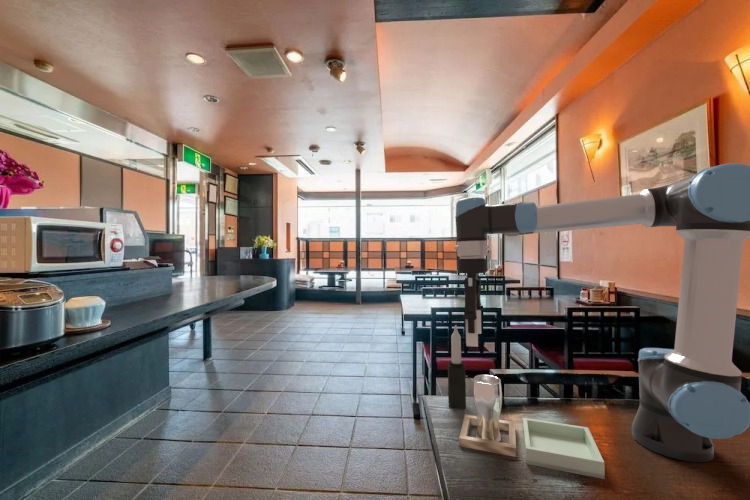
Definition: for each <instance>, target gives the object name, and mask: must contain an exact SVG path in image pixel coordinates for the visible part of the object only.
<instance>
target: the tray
mask: <svg viewBox="0 0 750 500" xmlns="http://www.w3.org/2000/svg"><path fill="white" fill-rule="evenodd" d="M522 435H523V444H524V455H525V464H526V465H530V466H536V467H540V468H545V469H550V470H551V469H552V470H555V471H560V472H566V473H571V474H577V475H581V476H586V477H591V478H592V477H593V478H595V479H596V478H597V479H601V480H602V479H603V480H605V479H606V478H605V477H606V476H605V474H606V473H605V467H606V466H605V461H604V459H603V457H602V454H601V452H600V450H599V448H598V446H597V444H596V441H595V439H594V437H593V435H592V432H591V431H590V429H589V427H587V426H581V425H573V424H568V423H560V422H554V421H548V420H541V419H533V418H527V417H522Z"/></svg>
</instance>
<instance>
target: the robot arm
mask: <svg viewBox="0 0 750 500" xmlns="http://www.w3.org/2000/svg"><path fill="white" fill-rule="evenodd" d="M630 225H631V226H632V225H642V226H644V227H645V228H655V227H656V228H657V227H658V228H659V227H675V233H676V234H677V235H679V236H680V238H682V239H683V241H684V243H683V252H682V253H683V254H682V264H681V274H680V275H681V276H680V284H679V285H680V286H679V296H678V307H677V318H676V328H675V337H674V338H675V339H674V348H662V347H661V348H660V347H643V348H640V349H639V351H638V358H637V362H638V385H639V386H638V388H639V389H638V390H639V392H638V395H639V406H638V409H637V412H636V414H635V417H634V418H633V421H632V423H631V435H632V438H633V440H635V441H636V442H637V443H639V444H640V445H641V446H643V447H644V448H646V449H648V450H650V451H651V452H655V453H656V454H659V455H662V456H665V457H668V458H672V459H675V460H680V461H683V462H689V463H707V462H711V461H712V460H713V459H714V457H715V447H714V443H713V441H712V439H715V440H723V439H724V440H726V439H730V438H733V437H734V436H737V435H741V434H743V433H744V432H746V430H747V429H748V428H749V427H750V401H749V400H748V399H747V397H746V396H745V395H744V394H743V393H742V392H741V389H742V388H741V387H742V386H741V385H742V379H743V378H742V377H743V373H742V371H741V370H740V369H739V368H738V367H737V366H736V365H735V364H734V362H733V349H734V339H735V329H736V319H737V311H738V310H737V308H738V299H739V289H740V277H741V268H742V259H743V250H744V249H743V245H744V243H745V242H746V241H747V240H748V239H750V165H749V164H744V163H738V162H737V163H735V162H731V163H723V164H719V165H715V166H710V167H709V166H708V167H707V168H704V169H702V170H700V171H698V172H697V173H695V174H693V175H690V176H688V177H685V178H683V179H681V180H678V181H675V182H672V183H669V184H665V185H663V186H657V187H653V188H645V189H643V190H641V192H640V193H637V194H629V195H621V196H612V197H604V198H598V199H597V198H596V199H587V200H579V201H569V202H561V203H554V204H546V205H545V204H544V205H537V204H536V203H535V202H532V201H530V202H529V201H526V202H523V201H519V202H512V203H510V202H509V203H501V204H500V203H499V204H487V203H486V200H485V198H483V197H478V196H476V197H465V198H460V199H458V201H457V202H456V204H455V226H456V227H455V228H456V229H455V232H456V244H457V245H455V246H454V249H455V250H457V253H456V255H457V257H459V258H458V259H457V260H456V263H457V265H456V267H457V273H458V274H466V277H465V278H464V280H463V281H464V282H463V283H464V284H463V285H464V315H462V316H461V318H462V320H465V345H466V346H465V347H473V348H474V347H476V348H478V347H479V335H481V334H482V310H484V305H482V303H481V291H482V290H481V287H482V280H481V279H480V274H485V273H488V260H487V258H486V257H487V256H488V240H487V235H498V234H499V235H501V234H503V235H504V236H506V237H517V236H521V235H531V234H542V233H543V234H545V233H552V232H553V233H555V232H565V231H574V230H575V231H576V230H589V229H598V228H608V227H609V228H610V227H621V226H630Z"/></svg>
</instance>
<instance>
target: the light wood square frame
mask: <svg viewBox="0 0 750 500" xmlns="http://www.w3.org/2000/svg"><path fill="white" fill-rule="evenodd" d="M471 426H474V427H475V426H476V427H477V415H473V414H466V413H465V414H464V417H463V421H462V424H461V428H460V429H461V430H460V434H459V437H458V440H459V441H458V447H461V448H462V447H463V448H467V449H473V450H477V451H478V450H479V451H482V452H483V451H484V452H489V453H494V454H500V455H504V456H509V457H515V458H517V443H516V442H517V440H516V439H517V437H516V436H517V435H516V422H515V421H510V420H506V419H505V420H504V419H499V431H504V432H505V431H506V432H508V443H507V442H501V441H500V442H497V441H491V440H486V439H480V438H477V437H473V436H469V433H470V432H469V431H470V427H471Z"/></svg>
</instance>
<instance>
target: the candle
mask: <svg viewBox="0 0 750 500" xmlns="http://www.w3.org/2000/svg"><path fill="white" fill-rule="evenodd" d="M450 338H451V340H450V341H451V342H450V343H451V344H450V345H451V349H450V351H451V352H450V354H451V360H448V362H447V390H448V392H447V395H448V402H447V403H448V407H449V409H454V410H466V408H467V391H466V365H465V363H464V361H462V340H461V339H462V336H461V334H460V333H459V331H458V326H457V324H456V325H454V329H453V332H452V334H451V336H450Z"/></svg>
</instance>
